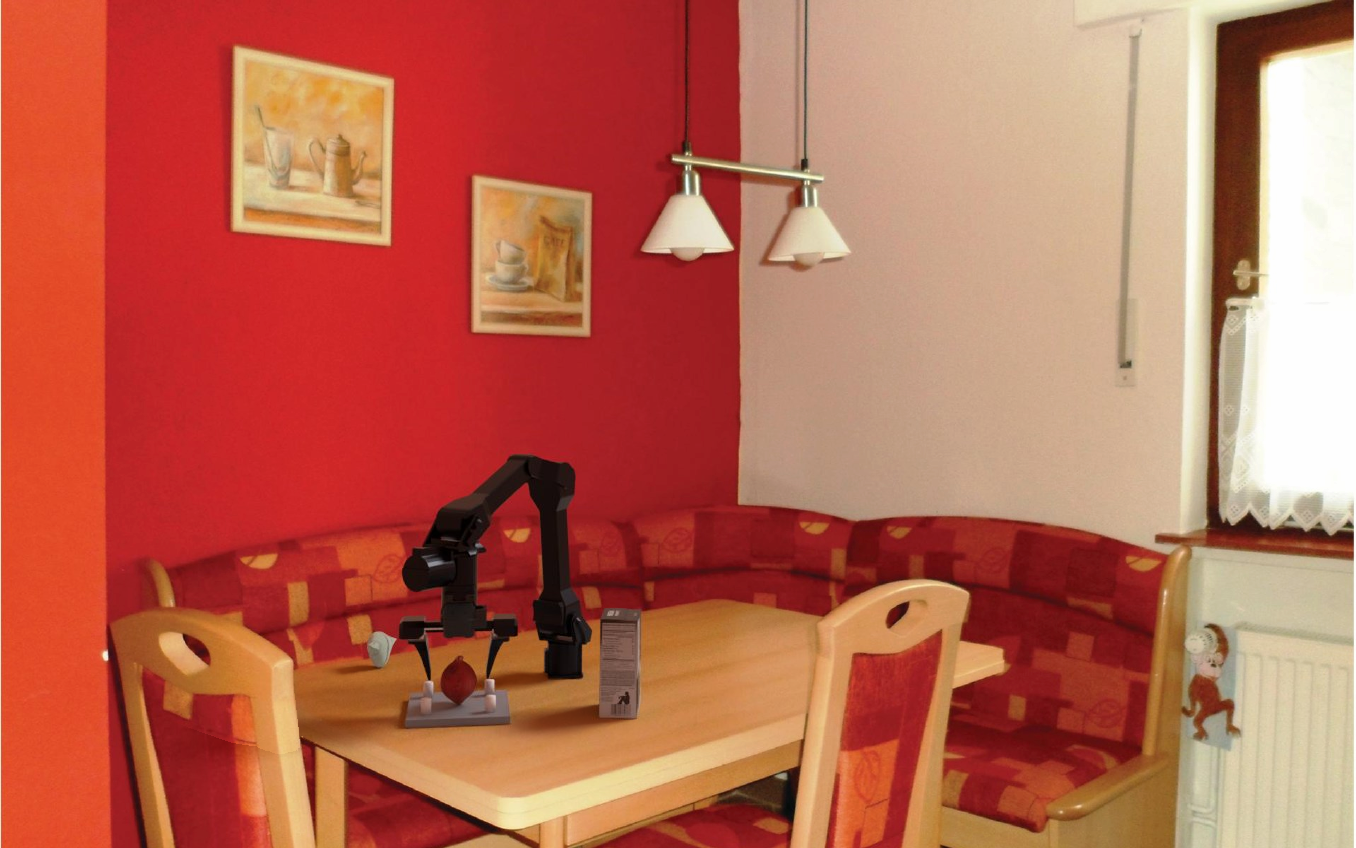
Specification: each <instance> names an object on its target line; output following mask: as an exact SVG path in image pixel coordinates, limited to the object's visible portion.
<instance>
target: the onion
mask: <svg viewBox="0 0 1356 848" xmlns="http://www.w3.org/2000/svg"><path fill="white" fill-rule="evenodd" d="M439 683H440V684H439V685H440V689H441V692H443V694H444V695H445V696H446V697H447V698H448V699H450V700H451V701H453V702H454V703H456V704H462V703H463V702H464V701H465V700H466V699H467V698H468V697H469V696H470V695H471V694H472V693H473V692H474V691H476V688H477V685H478V684H477V683H478V678H477V674H476V672H475V670H474V668H473V667H472V666H471V665H470V664H469V663H468V662H466V661H464V656H463V655H462V654H458V655H457V656H456V657H455V658H454V660H453V661H452V662H450V663H449V664H448V665H447V666H446V667H445V669H443V671H442V672H441V676H440V681H439Z"/></svg>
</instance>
